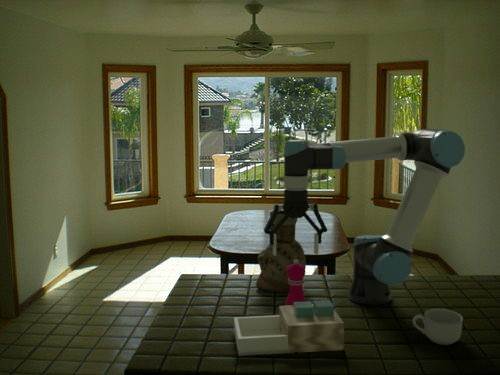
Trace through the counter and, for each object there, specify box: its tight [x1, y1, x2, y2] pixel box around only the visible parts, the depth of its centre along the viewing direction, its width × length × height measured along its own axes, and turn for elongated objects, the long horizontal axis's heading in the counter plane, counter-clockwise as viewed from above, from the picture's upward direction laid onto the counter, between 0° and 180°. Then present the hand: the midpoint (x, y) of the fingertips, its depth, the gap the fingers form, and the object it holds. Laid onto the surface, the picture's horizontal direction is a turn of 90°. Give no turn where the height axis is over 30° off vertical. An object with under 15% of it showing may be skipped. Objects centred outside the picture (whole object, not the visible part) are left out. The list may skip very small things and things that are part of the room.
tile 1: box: [294, 300, 314, 318], centre depth 162 cm, size 5×5×3 cm
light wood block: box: [278, 303, 345, 354], centre depth 163 cm, size 16×16×8 cm
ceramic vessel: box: [255, 209, 307, 294], centre depth 208 cm, size 19×21×30 cm
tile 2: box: [312, 299, 335, 317], centre depth 162 cm, size 5×5×3 cm
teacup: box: [412, 308, 464, 346], centre depth 161 cm, size 14×11×8 cm
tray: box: [233, 314, 289, 357], centre depth 161 cm, size 14×16×5 cm
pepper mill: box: [284, 259, 307, 306], centre depth 178 cm, size 7×7×20 cm
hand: (295, 254), depth 177 cm, fingers open, 13 cm apart
